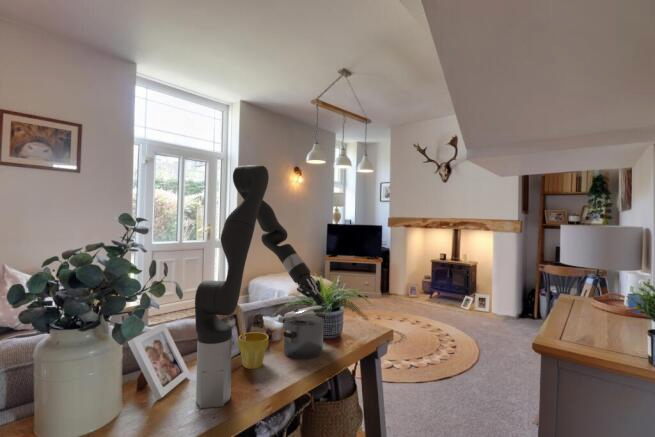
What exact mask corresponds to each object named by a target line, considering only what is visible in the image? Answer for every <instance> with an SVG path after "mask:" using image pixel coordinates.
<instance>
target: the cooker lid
mask: <svg viewBox="0 0 655 437" xmlns="http://www.w3.org/2000/svg"><path fill="white" fill-rule="evenodd" d="M325 310H328V307H327V305H326V306H322V305H320V306H318V305H314V306H308V307H303V308H300V309H298V308H294V309H293V310H292V311H290V312H287V313H284V316H283V317H285V318H295V317H300V316H305V315H312V314H316V313H321V312H323V311H325Z"/></svg>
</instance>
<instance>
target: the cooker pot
mask: <svg viewBox="0 0 655 437" xmlns="http://www.w3.org/2000/svg"><path fill="white" fill-rule="evenodd" d="M277 320H278V323H281V324H283V325H284V327H283V354H284V355H285V356H287V357H288V358H291V359H293V360H294V359H295V360H311V359H316V358H318V357H320V356H322V355H323V351H324V347H323V346H324V319H323V318H322V317H320V316H319V315H312V314H309V315H305V316H300V317H295V318H285V316H278V319H277Z"/></svg>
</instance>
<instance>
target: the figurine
mask: <svg viewBox="0 0 655 437" xmlns="http://www.w3.org/2000/svg"><path fill="white" fill-rule="evenodd" d="M263 316H264V314H262V313H260V312H257V313H256V314H254V315H253V317H252V322H251V324H250V326H251V327H250V328H249V333H250V332H260V333H265V334H267V330H266V325H265V321H264V318H263Z"/></svg>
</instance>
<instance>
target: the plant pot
mask: <svg viewBox="0 0 655 437" xmlns="http://www.w3.org/2000/svg"><path fill="white" fill-rule="evenodd" d="M244 334H245V336H246V341H243V340H242V334H240V335H239V336H238V339H237V340H238V341H237V346H238V349H239V350H240V355H241V356H242V357H241V362H242V366H243V367H244V368H246V369H248V370H249V369H250V370H253V369H258V368H261V367H262V366H263V364H264V359H265V354H266V350H267V348H268V347H269V339H270V338H269V335H268V334H267V333H266V334H265V333H260V332H250V331H249V332H244Z"/></svg>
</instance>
